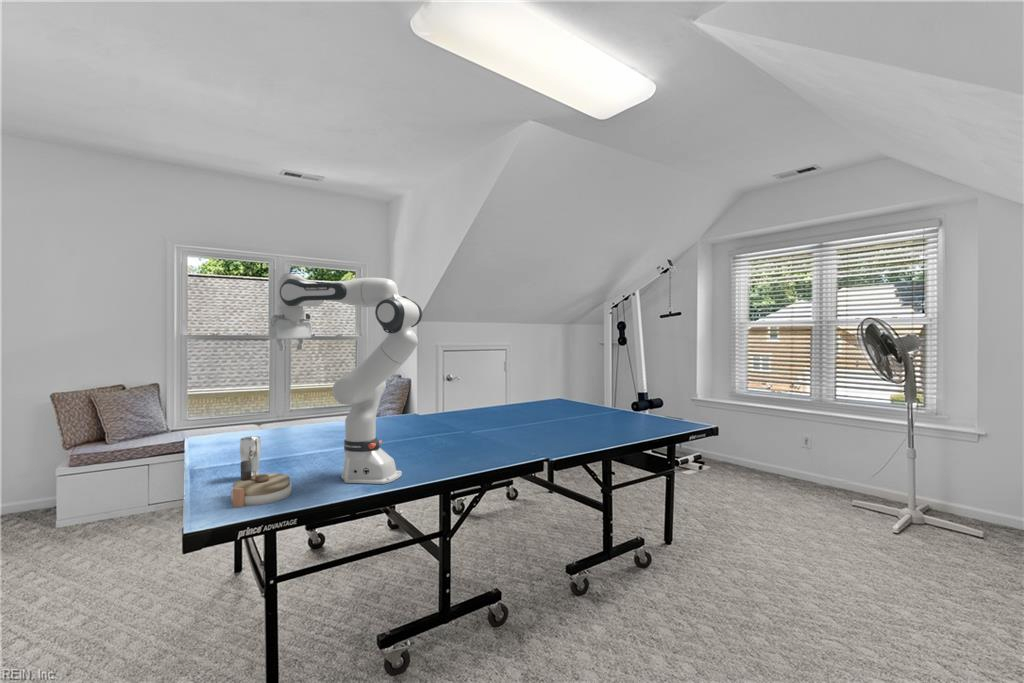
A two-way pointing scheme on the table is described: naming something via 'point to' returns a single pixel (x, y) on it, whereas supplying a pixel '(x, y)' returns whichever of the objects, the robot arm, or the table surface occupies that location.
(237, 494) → the stand
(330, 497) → the table surface
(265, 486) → the tan disc with handle
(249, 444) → the beer glass
